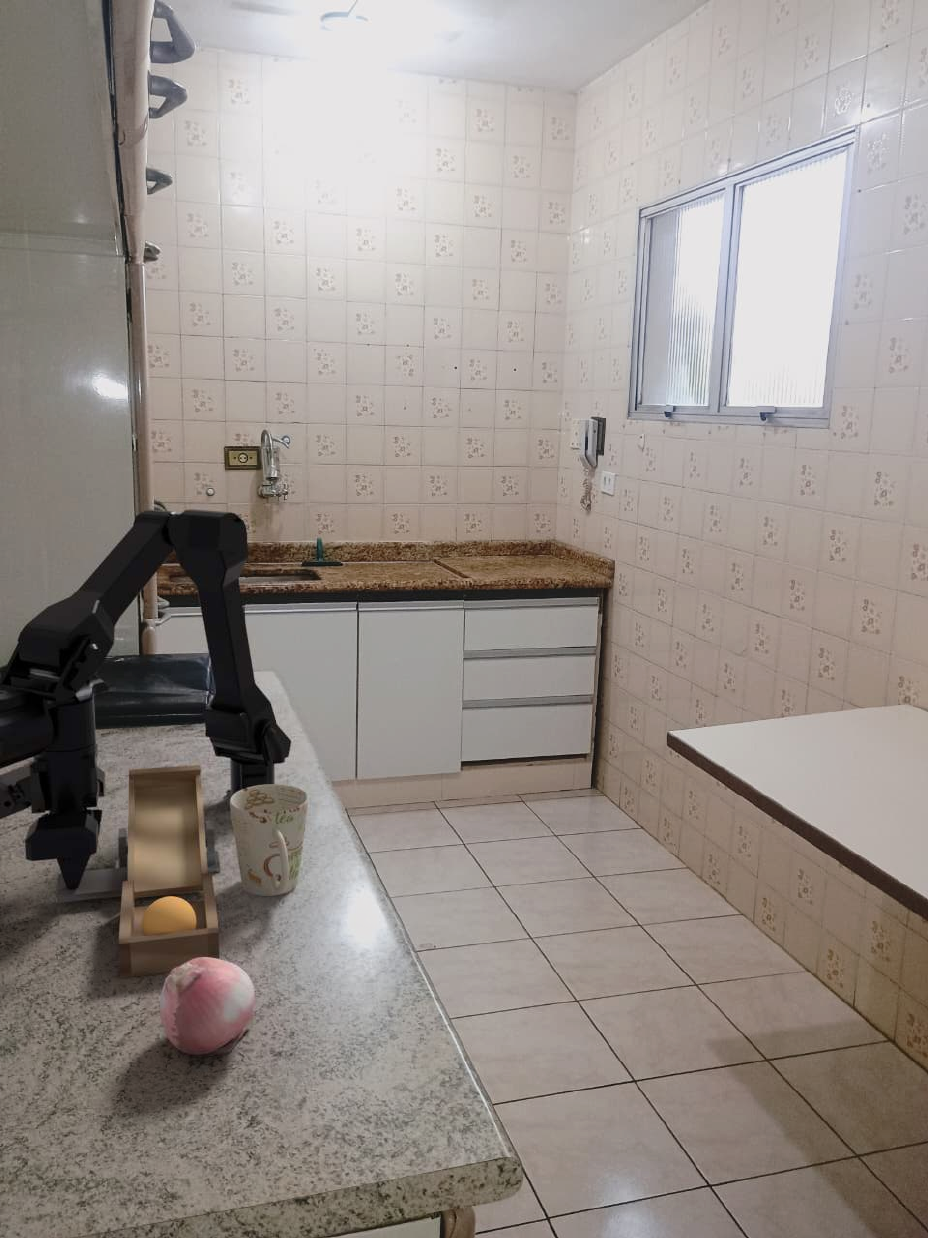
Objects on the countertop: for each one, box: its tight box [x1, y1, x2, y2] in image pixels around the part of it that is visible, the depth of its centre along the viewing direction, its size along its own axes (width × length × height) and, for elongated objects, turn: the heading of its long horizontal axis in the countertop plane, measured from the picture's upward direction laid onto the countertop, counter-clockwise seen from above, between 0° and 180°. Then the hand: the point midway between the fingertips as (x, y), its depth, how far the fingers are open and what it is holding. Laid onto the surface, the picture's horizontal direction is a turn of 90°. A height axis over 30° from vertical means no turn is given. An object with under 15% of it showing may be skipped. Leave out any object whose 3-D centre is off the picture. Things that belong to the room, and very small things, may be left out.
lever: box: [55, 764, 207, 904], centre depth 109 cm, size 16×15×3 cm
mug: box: [229, 783, 309, 897], centre depth 106 cm, size 8×13×10 cm, turn 25°
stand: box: [114, 820, 221, 874], centre depth 111 cm, size 4×11×5 cm, turn 107°
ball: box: [141, 895, 196, 936], centre depth 94 cm, size 5×5×5 cm
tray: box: [118, 873, 220, 979], centre depth 97 cm, size 13×9×3 cm
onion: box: [158, 957, 256, 1058], centre depth 81 cm, size 8×8×7 cm
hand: (72, 887), depth 102 cm, fingers closed
